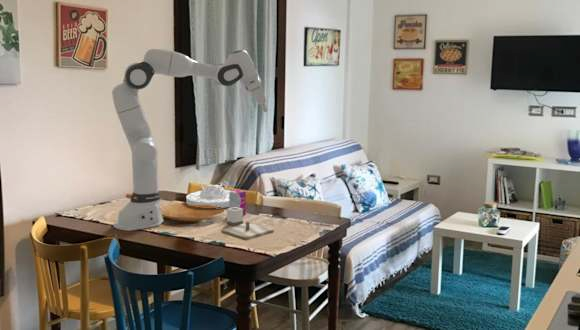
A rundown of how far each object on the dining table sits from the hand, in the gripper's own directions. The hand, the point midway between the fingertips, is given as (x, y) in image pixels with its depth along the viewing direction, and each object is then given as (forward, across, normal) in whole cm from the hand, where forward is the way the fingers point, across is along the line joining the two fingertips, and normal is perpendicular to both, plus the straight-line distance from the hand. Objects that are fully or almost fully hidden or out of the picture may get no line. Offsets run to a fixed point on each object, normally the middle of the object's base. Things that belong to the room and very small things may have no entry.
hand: (264, 110), depth 292 cm
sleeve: (+38, +16, -35) cm, 54 cm away
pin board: (+39, +29, -31) cm, 58 cm away
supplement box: (+40, +1, -33) cm, 52 cm away
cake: (+37, -26, -43) cm, 62 cm away
